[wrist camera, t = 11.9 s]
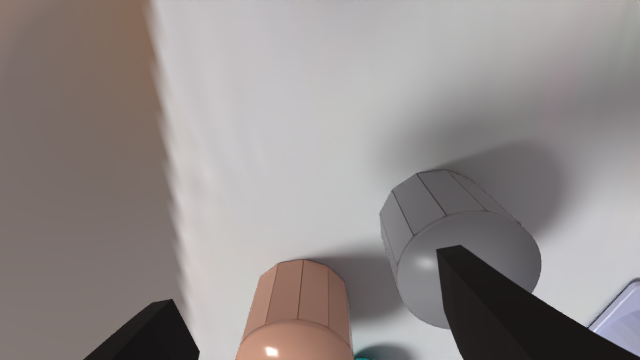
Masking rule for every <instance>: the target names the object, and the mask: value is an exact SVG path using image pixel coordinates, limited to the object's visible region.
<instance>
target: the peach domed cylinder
mask: <svg viewBox="0 0 640 360" xmlns="http://www.w3.org/2000/svg"><path fill="white" fill-rule="evenodd" d="M235 360H354V353H353V342H352V332H351V321H350V310H349V300H348V296H347V291H346V286H345V282H344V281H343V280H342V279H341V278H340V277H339V276H338V275H337V274H336V273H335V272H334V271H333V270H332V269H330V268H329V267H328V266H326V265H322V264H319V263H315V262H312V261H308V260H305V259H304V260H303V259H301V260H295V261H289V262H282V263H279V264H277V265H275V266H274V267H273V268H271V269H270V270H269V271H267V272H266V273H265V274H263V275H262V276H261V277H260V279H259V282H258V285H257V288H256V291H255V294H254V298H253V301H252V305H251V308H250V312H249V315H248V319H247V322H246V326H245V329H244V333H243V336H242V340H241V343H240V346H239V349H238V352H237V355H236V359H235Z"/></svg>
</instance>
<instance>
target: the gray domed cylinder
mask: <svg viewBox="0 0 640 360" xmlns="http://www.w3.org/2000/svg"><path fill="white" fill-rule="evenodd" d="M380 223H381V234H382V239H383V243H384V246H385V249H386V253H387V256H388V259H389V262H390V266H391V269H392V272H393V276H394V279H395V282H396V286H397V289H398V292H399V294H400V295H401V298H402V300H403V302H404V304H405V306H406V307H407V308H408V310H409V311H410V312H411V313H412V314H413V315H414V316H416V317H417V318H419V319H420V320H422V321H423V322H425V323H427V324H430V325H432V326H435V327H439V328H444V329H450V326H449V323H448V321H447V318H446V315H445V313H444V309H443V301H442V293H441V286H440V278H439V270H438V262H437V254H436V249H439V248H445V247H450V246H455V245H462V246H463V247H465V248H466V249H468V250H469V251H471V252H472V253H473V254H475V255H476V256H478V257H479V258H480V259H482V260H483V261H484V262H486V263H487V264H489V265H490V266H492V267H493V268H494V269H496V270H497V271H499V272H500V273H501V274H503V275H504V276H506V277H507V278H509V279H510V280H512V281H513V282H515V283H516V284H518V285H519V286H521V287H522V288H524V289H525V290H527V291H528V292H530V293H532V292H533V290H534V288H535V287H536V285H537V282H538V279H539V277H540V272H541V254H540V251H539V248H538V246H537V244H536V242H535V240H534V239H533V237H532V236H531V235H530V234H529V233H528V232H527V231H526V230H525V229H524V228H523V227H522V226H521V224H520V223H519V222H518V221H517V220H516V219H515V218H514V217H512V216H511V215H510V214H509V213H508V212H507V211H506V210H505V209H504V208H502V207H501V206H500V205H499V204H498V203H497V202H496V201H495V200H493V199H492V198H491V197H490V196H489V195H488V194H487V193H486V192H485V191H483V190H482V189H481V188H480V187H479V186H478V185H477V184H476V183H475V182H473V181H472V180H471V179H469V178H466V177H463V176H461V175H458V174H456V173H453V172H451V171H448V170H439V171H432V172H424V173H417V175H416V174H415V175H413V176H412V177H410V178H409V179H407V180H406V181H405V182H403V183H402V184H400V185H399V186H397V187H396V188H394V189H393V191H391V193H390V195H389V197H388V198H387V200H386V202H385V204H384V206H383V208H382V210H381V212H380ZM450 330H451V329H450Z"/></svg>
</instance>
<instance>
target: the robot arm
mask: <svg viewBox="0 0 640 360" xmlns="http://www.w3.org/2000/svg"><path fill="white" fill-rule="evenodd" d="M436 254H437V262H438V270H439V278H440V286H441V293H442V301H443V309H444V313H445V315H446V318H447V321H448V323H449V326H450V329H451V331H452V334H453V337H454V339H455V342H456V344H457V347H458V349H459V352H460V354H461V356H462V358H463V360H640V281H638V282H634V283H631V284H630V285H629V286H628V287H627V288H626V289H625V290H624V291H623V292H622V293H621V295H620V296H619V297H618V298H617V299H616V300H615V301H614V302H613V303H612V304H611V305H610V306H609V307H608V308H607V309H606V310H605V312H604V313H603V314H602V315H601V316H600V317H599V318H598V319H597V320H596V321H595V322H594V323H593V324H592V325H591V326H590V327H589V328H586V327H585V326H583V325H581V324H579V323H578V322H576V321H574V320H573V319H571V318H569V317H568V316H566V315H564V314H563V313H561V312H559V311H558V310H556V309H555V308H553V307H551V306H550V305H548V304H547V303H545V302H543V301H542V300H540V299H539V298H537V297H536V296H534V295H533V294H531V293H530V292H528V291H527V290H525V289H524V288H522V287H521V286H519V285H518V284H516V283H515V282H513V281H512V280H510V279H509V278H507V277H506V276H504V275H503V274H501V273H500V272H499V271H497V270H496V269H494V268H493V267H492V266H490V265H489V264H487V263H486V262H484V261H483V260H482V259H480V258H479V257H478V256H476V255H475V254H473V253H472V252H471V251H469V250H468V249H466V248H465V247H463V246H462V245H455V246H450V247H445V248H439V249H436ZM199 353H200V351H199V349H198V347H197V346H196V344H195V342H194V340H193V338H192V336H191V334H190V332H189V330H188V328H187V326H186V324H185V322H184V320H183V318H182V317H181V315H180V313H179V311H178V309H177V307H176V305H175V303H174V301H173V299H169V300H164V301H159V302H153V303H151V304H150V305H148V306H147V307H146V308H144V309H143V310H142V311H141V312H139V313H138V314H137V315H135V316H134V317H133V318H132V319H131V320H129V321H128V322H127V323H126V324H124V325H123V326H122V327H121V328H120V329H119V330H117V331H116V332H115V333H114V334H113V335H111V336H110V337H109V338H108V339H107V340H106V341H105V342H103V343H102V344H101V345H100V346H99V347H98V348H96V349H95V350H94V351H93V352H92V353H90V354H89V355H88V356H87V357H86V358H85V359H84V360H198V358H199Z"/></svg>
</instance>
